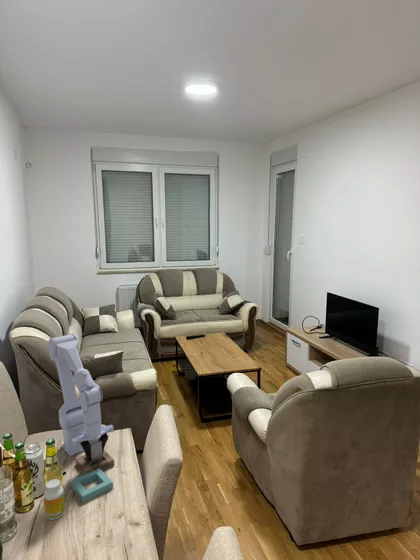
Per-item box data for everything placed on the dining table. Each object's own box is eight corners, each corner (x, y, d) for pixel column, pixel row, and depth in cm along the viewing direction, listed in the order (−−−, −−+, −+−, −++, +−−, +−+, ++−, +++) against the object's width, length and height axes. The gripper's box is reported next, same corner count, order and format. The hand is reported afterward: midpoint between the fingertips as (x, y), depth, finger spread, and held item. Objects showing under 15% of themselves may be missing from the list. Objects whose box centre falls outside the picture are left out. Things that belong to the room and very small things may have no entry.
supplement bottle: (65, 517, 110) (62, 486, 109) (45, 522, 108) (42, 491, 107) (64, 505, 115) (62, 475, 114) (45, 510, 113) (43, 480, 112)
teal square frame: (70, 486, 124) (70, 480, 123) (99, 473, 130) (99, 468, 130) (83, 502, 116) (82, 496, 116) (113, 487, 123) (112, 482, 122)
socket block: (76, 463, 136) (75, 458, 136) (102, 453, 142) (102, 448, 142) (87, 477, 128) (87, 471, 128) (114, 464, 135) (114, 459, 135)
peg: (87, 464, 136) (86, 440, 134) (98, 459, 138) (96, 436, 137) (92, 469, 133) (90, 445, 131) (102, 464, 135) (101, 441, 134)
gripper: (76, 432, 126) (79, 470, 127) (116, 418, 135) (118, 453, 137) (68, 424, 131) (71, 461, 133) (107, 411, 140) (109, 445, 142)
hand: (94, 456), depth 135 cm, fingers closed on peg, 4 cm apart
